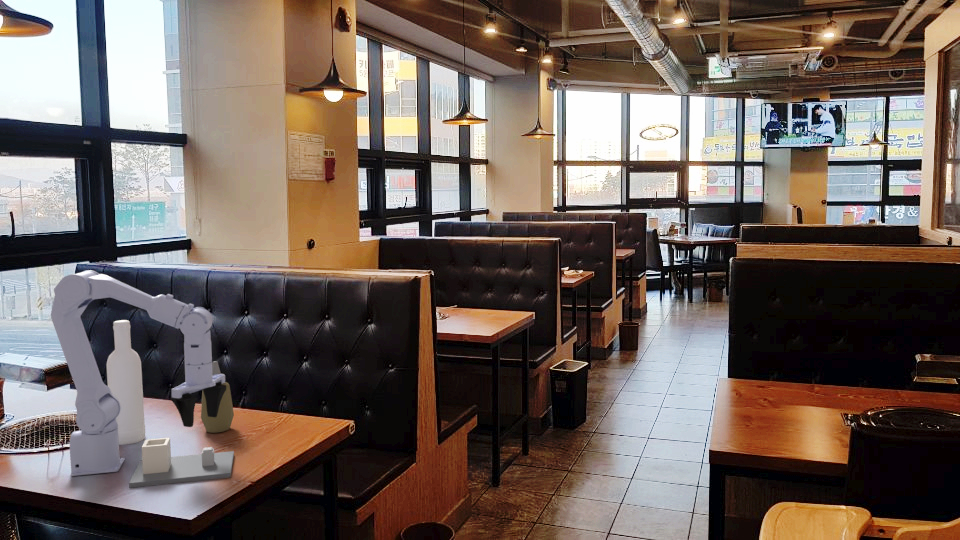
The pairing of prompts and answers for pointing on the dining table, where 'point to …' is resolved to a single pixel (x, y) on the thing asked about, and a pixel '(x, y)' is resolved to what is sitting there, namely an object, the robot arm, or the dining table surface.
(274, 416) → the dining table surface
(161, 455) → the sleeve
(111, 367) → the bottle
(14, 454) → the dining table surface
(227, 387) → the squeeze bottle
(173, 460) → the base plate
